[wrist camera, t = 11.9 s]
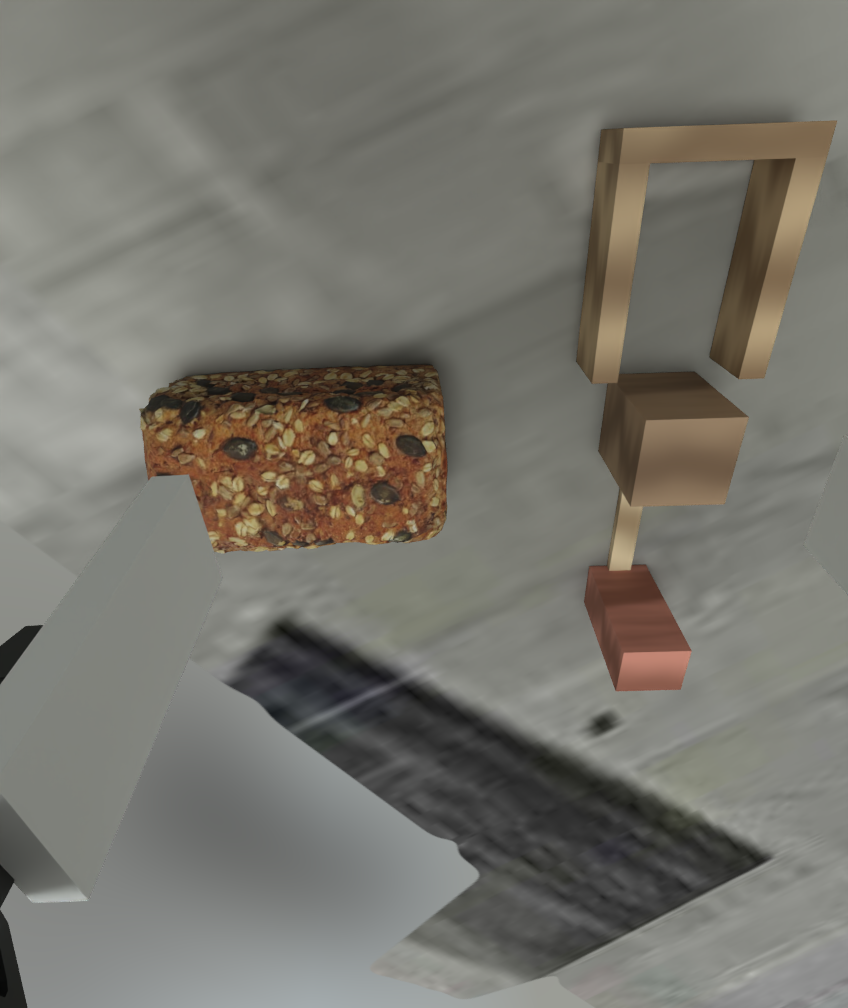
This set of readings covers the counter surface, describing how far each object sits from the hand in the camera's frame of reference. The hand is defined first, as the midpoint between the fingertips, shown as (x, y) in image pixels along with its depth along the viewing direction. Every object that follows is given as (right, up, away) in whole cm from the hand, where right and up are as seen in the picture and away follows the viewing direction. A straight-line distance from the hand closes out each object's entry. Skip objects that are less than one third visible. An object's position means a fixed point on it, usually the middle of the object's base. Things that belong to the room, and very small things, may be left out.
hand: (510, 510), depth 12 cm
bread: (-10, +6, +31) cm, 33 cm away
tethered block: (+15, 0, +35) cm, 37 cm away
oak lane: (+14, +15, +25) cm, 33 cm away
